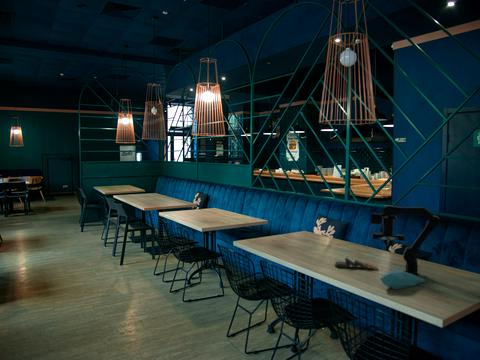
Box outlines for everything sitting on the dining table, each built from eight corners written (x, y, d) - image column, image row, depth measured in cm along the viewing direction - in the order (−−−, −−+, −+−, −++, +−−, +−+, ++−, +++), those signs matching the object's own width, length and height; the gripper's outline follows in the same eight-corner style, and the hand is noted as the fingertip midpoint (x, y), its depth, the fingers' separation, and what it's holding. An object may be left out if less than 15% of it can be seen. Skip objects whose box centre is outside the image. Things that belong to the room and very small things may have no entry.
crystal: (427, 292, 204) (436, 278, 200) (381, 292, 190) (389, 277, 186) (415, 280, 212) (423, 267, 208) (370, 279, 198) (377, 265, 195)
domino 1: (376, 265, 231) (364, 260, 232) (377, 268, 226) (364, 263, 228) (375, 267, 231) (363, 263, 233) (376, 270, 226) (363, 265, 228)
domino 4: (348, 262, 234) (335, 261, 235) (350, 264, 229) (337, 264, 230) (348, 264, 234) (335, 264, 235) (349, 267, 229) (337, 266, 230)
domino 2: (367, 264, 232) (355, 259, 234) (368, 267, 227) (355, 262, 229) (366, 267, 232) (354, 262, 234) (367, 269, 228) (354, 264, 229)
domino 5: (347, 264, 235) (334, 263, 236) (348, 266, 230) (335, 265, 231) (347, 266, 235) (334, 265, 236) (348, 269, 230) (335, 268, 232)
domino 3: (356, 264, 233) (346, 257, 234) (358, 266, 228) (347, 259, 229) (355, 266, 233) (344, 259, 234) (356, 268, 229) (345, 261, 229)
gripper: (402, 224, 230) (400, 248, 232) (371, 222, 235) (369, 245, 236) (405, 227, 220) (404, 252, 221) (373, 225, 224) (371, 250, 225)
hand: (387, 250), depth 226 cm, fingers closed
